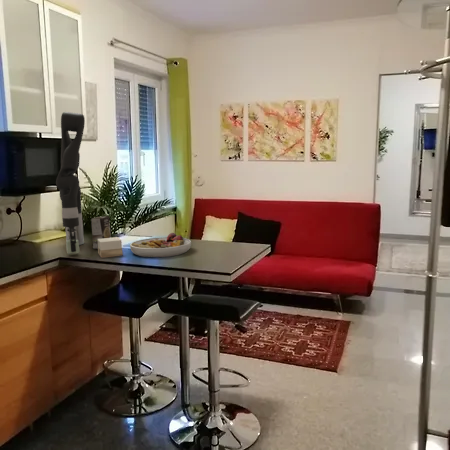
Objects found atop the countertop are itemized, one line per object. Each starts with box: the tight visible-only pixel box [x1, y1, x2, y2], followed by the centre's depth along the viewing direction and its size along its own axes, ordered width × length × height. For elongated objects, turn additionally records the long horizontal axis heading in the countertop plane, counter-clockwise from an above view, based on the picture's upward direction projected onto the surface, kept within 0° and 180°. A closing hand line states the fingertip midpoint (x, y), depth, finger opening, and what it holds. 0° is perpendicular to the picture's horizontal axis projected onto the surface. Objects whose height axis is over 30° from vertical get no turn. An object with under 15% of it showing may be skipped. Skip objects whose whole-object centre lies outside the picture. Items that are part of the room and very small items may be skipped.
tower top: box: [97, 236, 123, 250], centre depth 227 cm, size 10×10×4 cm
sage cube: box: [65, 240, 80, 254], centre depth 228 cm, size 6×6×6 cm
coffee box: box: [90, 215, 112, 250], centre depth 247 cm, size 9×6×16 cm
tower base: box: [97, 247, 123, 258], centre depth 228 cm, size 10×10×4 cm
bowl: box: [129, 232, 192, 258], centre depth 231 cm, size 30×30×8 cm
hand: (72, 250), depth 229 cm, fingers closed on sage cube, 5 cm apart
